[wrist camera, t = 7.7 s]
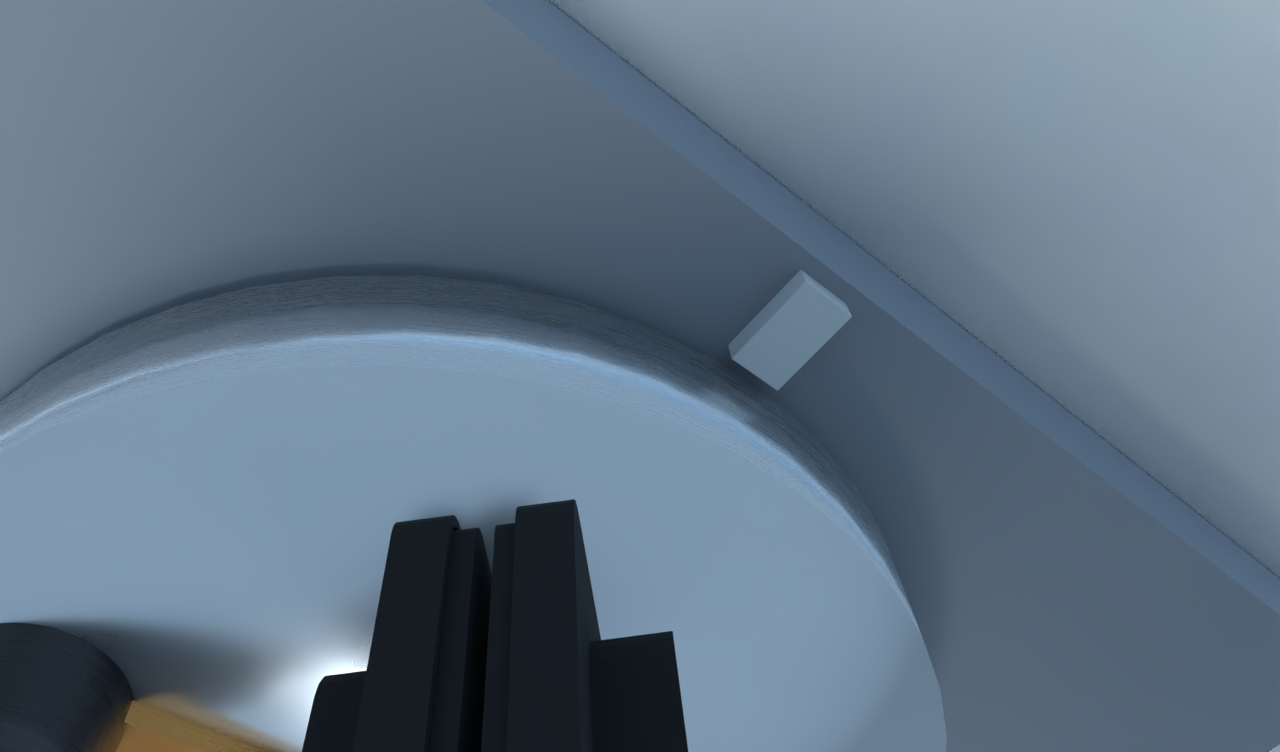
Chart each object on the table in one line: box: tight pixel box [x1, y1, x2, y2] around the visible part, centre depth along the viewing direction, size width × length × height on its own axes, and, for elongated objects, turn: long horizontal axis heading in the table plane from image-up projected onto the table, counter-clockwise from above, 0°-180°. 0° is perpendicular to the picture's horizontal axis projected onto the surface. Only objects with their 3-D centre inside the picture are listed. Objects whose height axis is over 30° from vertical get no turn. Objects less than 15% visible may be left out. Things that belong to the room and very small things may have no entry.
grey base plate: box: [0, 0, 1280, 752], centre depth 16 cm, size 22×16×2 cm
